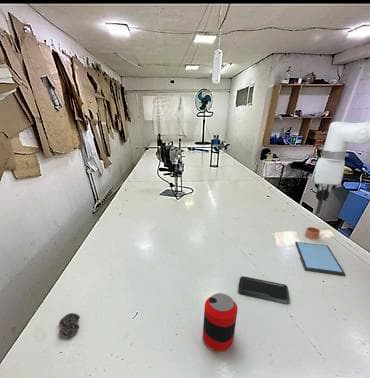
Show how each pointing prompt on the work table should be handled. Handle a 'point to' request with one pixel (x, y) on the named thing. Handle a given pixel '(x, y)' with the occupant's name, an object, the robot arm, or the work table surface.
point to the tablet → (318, 259)
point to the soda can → (219, 322)
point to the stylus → (320, 200)
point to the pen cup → (312, 233)
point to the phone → (264, 289)
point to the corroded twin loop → (69, 325)
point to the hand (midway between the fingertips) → (321, 199)
